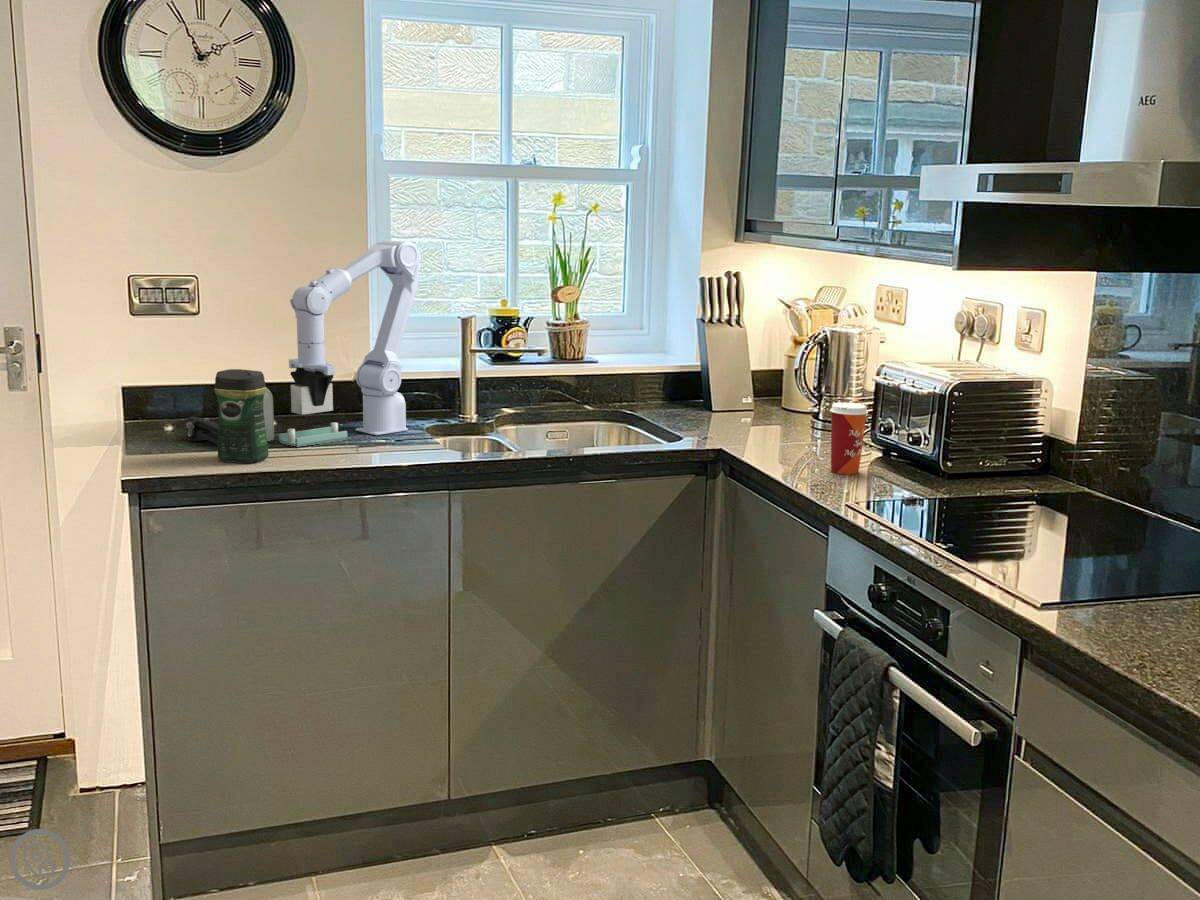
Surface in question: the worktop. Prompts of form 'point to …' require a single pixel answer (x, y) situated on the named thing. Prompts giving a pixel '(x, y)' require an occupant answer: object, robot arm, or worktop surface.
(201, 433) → the can opener
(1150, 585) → the worktop surface
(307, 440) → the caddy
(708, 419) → the worktop surface
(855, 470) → the paper cup
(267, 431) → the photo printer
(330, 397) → the light grey rectangular block
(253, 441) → the coffee jar
